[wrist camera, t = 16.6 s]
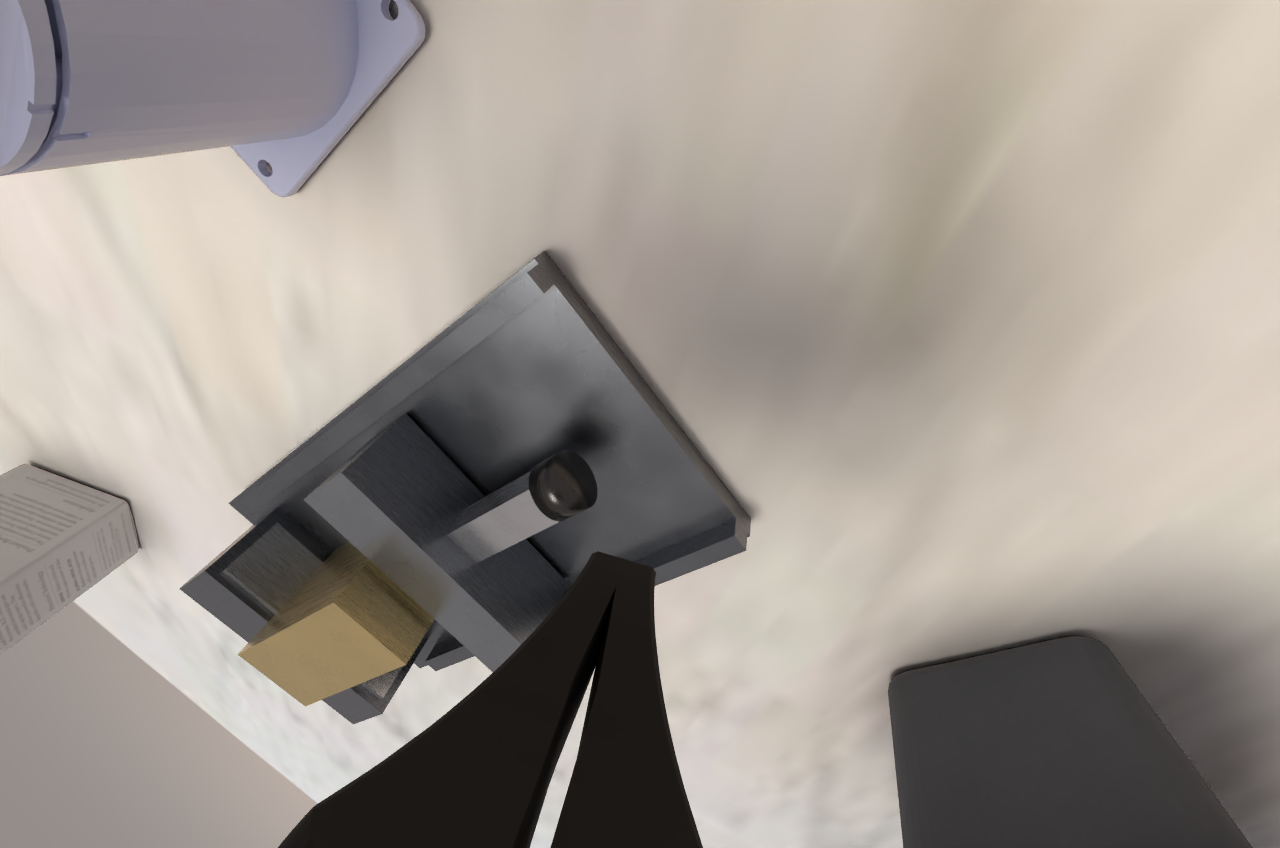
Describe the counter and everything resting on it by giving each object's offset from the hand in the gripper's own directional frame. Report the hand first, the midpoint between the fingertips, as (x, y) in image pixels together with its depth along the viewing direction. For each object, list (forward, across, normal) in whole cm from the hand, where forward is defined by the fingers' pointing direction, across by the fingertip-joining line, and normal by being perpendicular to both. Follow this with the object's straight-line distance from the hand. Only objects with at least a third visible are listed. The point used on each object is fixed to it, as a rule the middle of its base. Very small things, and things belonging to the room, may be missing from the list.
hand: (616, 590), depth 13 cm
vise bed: (+10, +8, +9) cm, 15 cm away
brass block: (+9, +10, +12) cm, 18 cm away
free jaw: (+9, +5, +6) cm, 12 cm away
